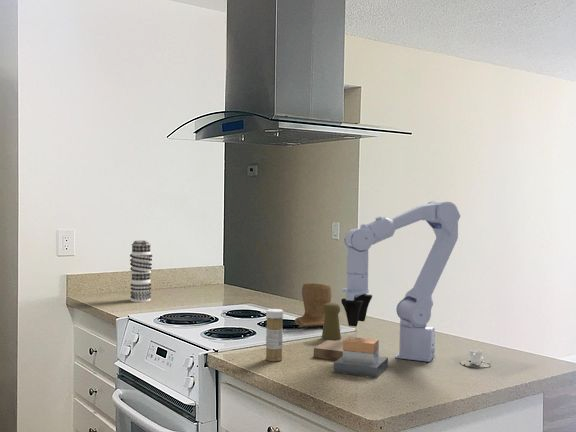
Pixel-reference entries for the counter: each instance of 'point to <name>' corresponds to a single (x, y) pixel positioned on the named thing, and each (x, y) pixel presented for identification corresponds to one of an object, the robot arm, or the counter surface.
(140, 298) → the decorative candle
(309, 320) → the tan boot
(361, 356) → the block
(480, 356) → the teacup and saucer
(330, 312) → the olive tapered column
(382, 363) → the stand
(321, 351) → the stand
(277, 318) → the sprinkles bottle
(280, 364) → the counter surface
